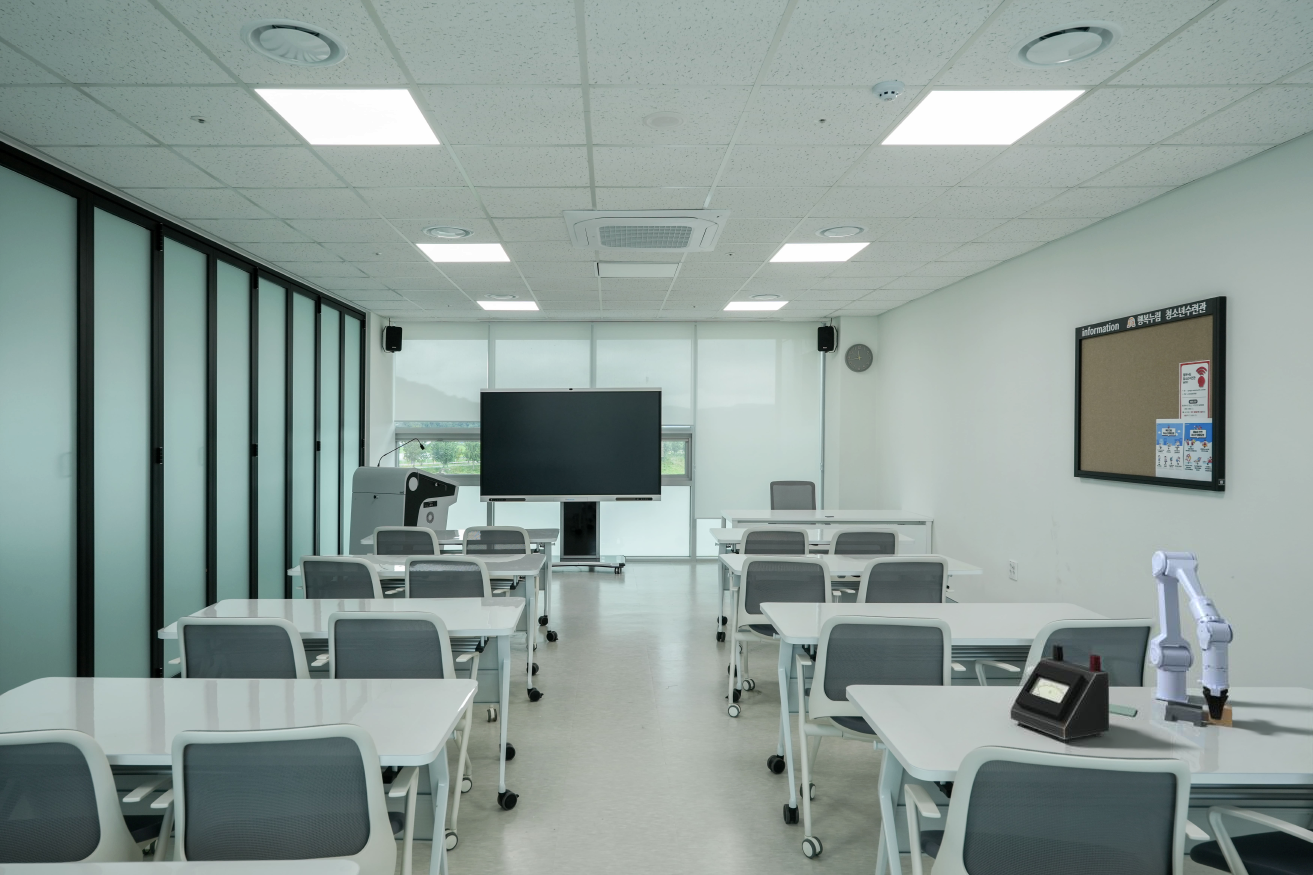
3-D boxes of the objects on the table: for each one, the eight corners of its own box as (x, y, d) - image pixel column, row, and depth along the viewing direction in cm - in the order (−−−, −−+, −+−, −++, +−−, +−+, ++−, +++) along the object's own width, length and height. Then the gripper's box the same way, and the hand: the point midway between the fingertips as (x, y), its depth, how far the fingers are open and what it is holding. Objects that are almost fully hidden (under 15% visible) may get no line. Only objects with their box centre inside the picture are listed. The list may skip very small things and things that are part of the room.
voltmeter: (1009, 724, 200) (1009, 647, 201) (1053, 717, 206) (1053, 643, 207) (1063, 745, 185) (1063, 662, 186) (1109, 736, 192) (1108, 657, 192)
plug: (1174, 712, 212) (1174, 696, 212) (1232, 723, 204) (1232, 706, 204) (1173, 716, 209) (1172, 699, 209) (1232, 726, 201) (1231, 709, 201)
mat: (1104, 703, 219) (1104, 702, 219) (1136, 709, 214) (1136, 708, 214) (1099, 710, 213) (1099, 709, 213) (1133, 716, 208) (1133, 715, 208)
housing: (1168, 707, 217) (1168, 696, 217) (1203, 712, 212) (1203, 702, 212) (1164, 719, 205) (1164, 708, 206) (1200, 726, 201) (1200, 715, 201)
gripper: (1197, 658, 213) (1198, 707, 213) (1196, 668, 202) (1197, 720, 201) (1228, 662, 209) (1229, 712, 209) (1229, 673, 197) (1230, 726, 197)
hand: (1215, 716), depth 205 cm, fingers closed on plug, 4 cm apart
